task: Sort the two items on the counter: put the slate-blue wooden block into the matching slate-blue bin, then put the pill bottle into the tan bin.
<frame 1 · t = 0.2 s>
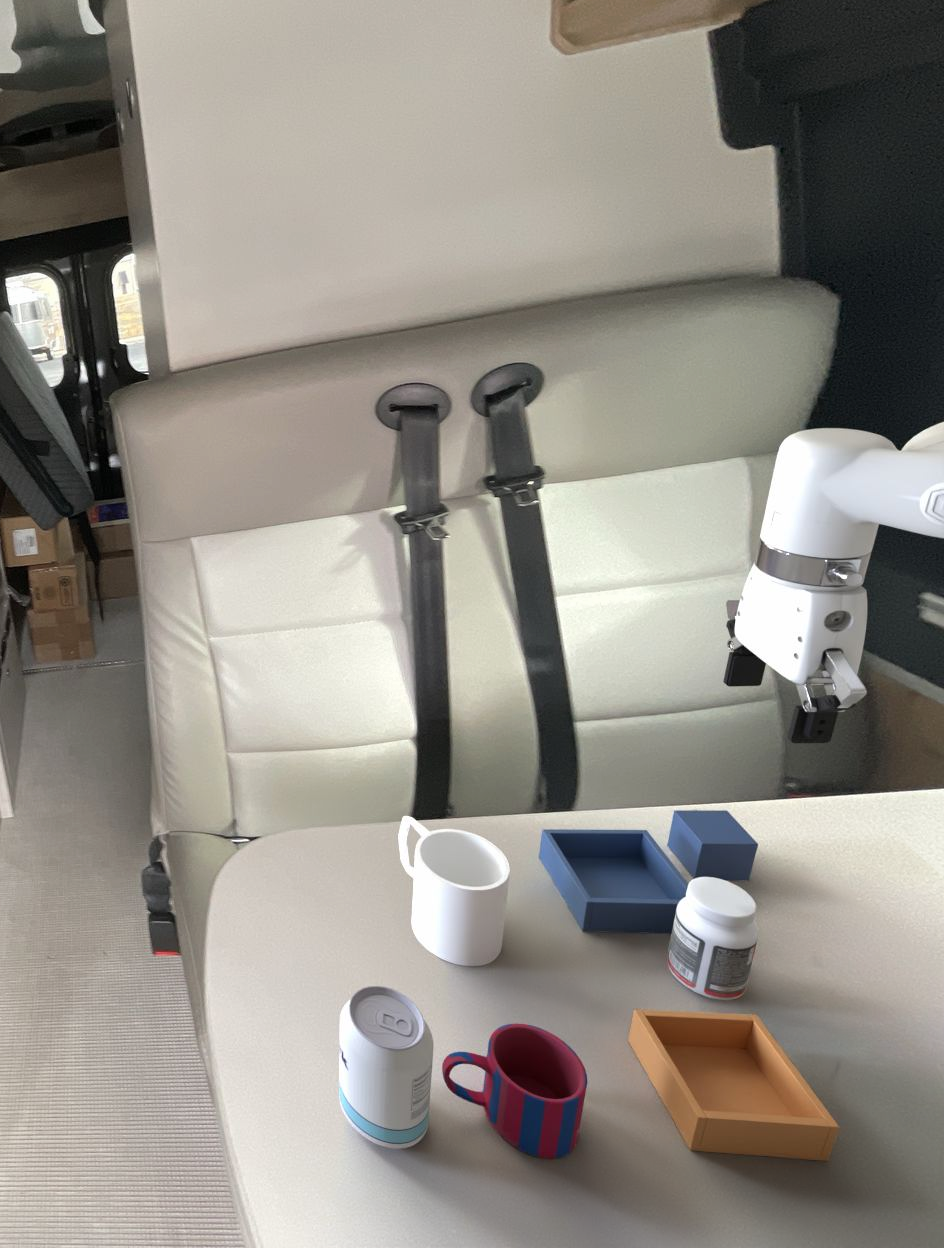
hand: (773, 711, 84), 18 cm above the table, tool pointing down, fingers open, 9 cm apart
pill bottle: (704, 977, 78), on the table
cup: (505, 1112, 70), on the table
cup 2: (440, 920, 88), on the table
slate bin: (613, 893, 88), on the table
block: (706, 862, 89), on the table
tan bin: (720, 1096, 68), on the table
beverage can: (382, 1115, 71), on the table
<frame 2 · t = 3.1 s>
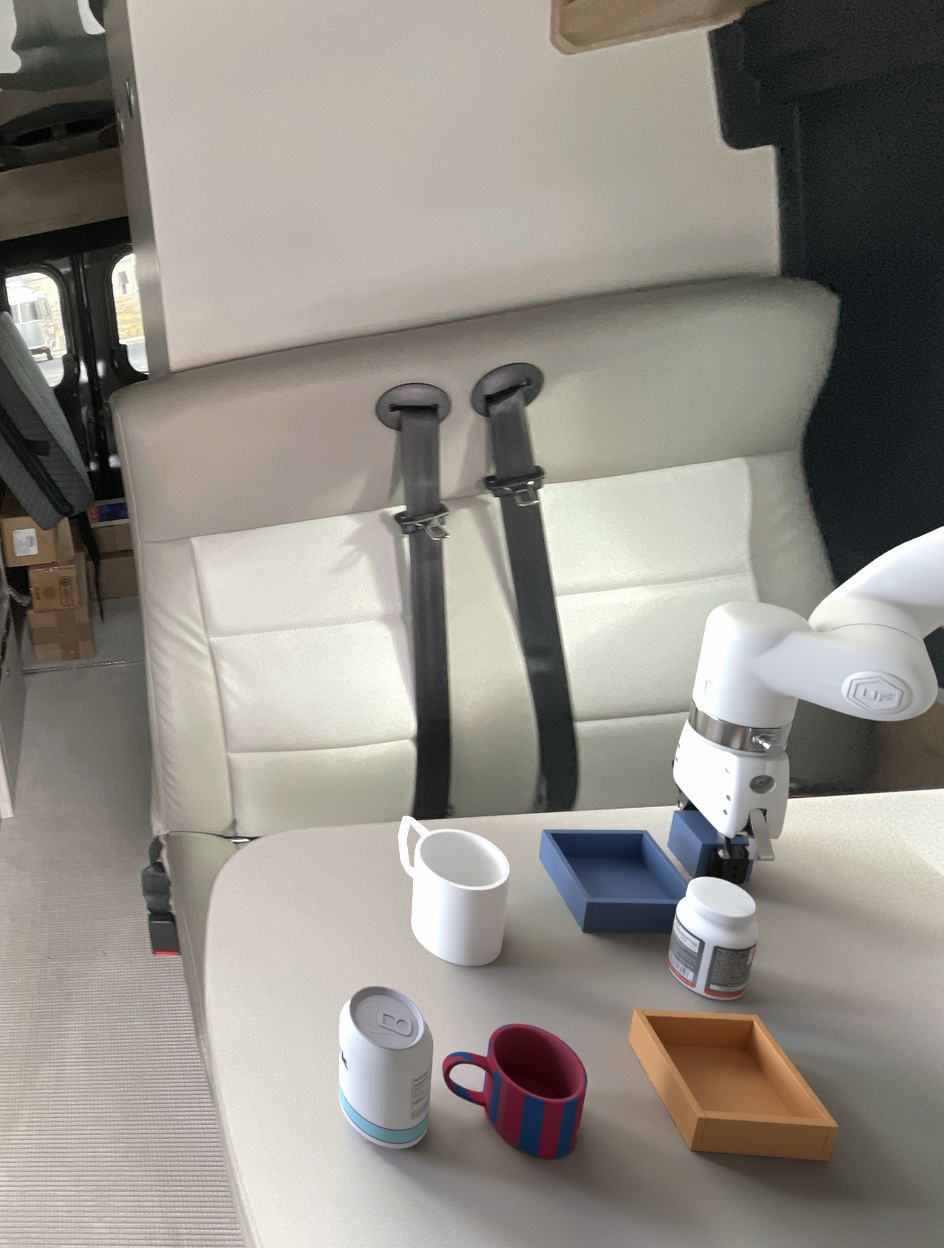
hand: (707, 859, 89), 0 cm above the table, tool pointing down, fingers closed on block, 5 cm apart
block: (706, 862, 89), on the table, touching gripper
everything else where it was.
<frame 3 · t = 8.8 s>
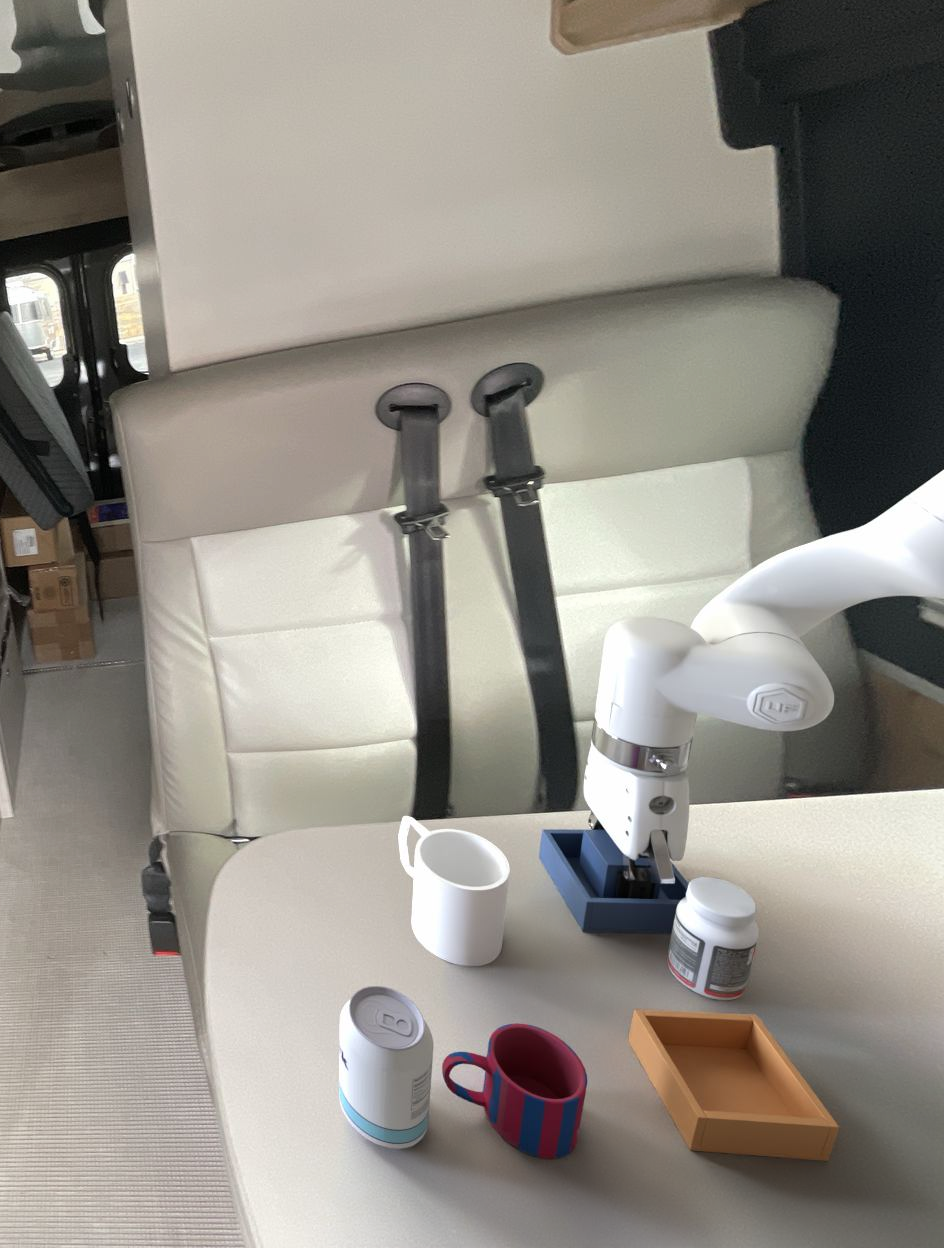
hand: (617, 880, 87), 2 cm above the table, tool pointing down, fingers closed on block, 5 cm apart
block: (616, 883, 87), point 1 cm above the table, touching gripper
everything else where it was.
when the fingers open (3 cm above the table, at t = 14.8 s): block stays where it is, resting on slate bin.
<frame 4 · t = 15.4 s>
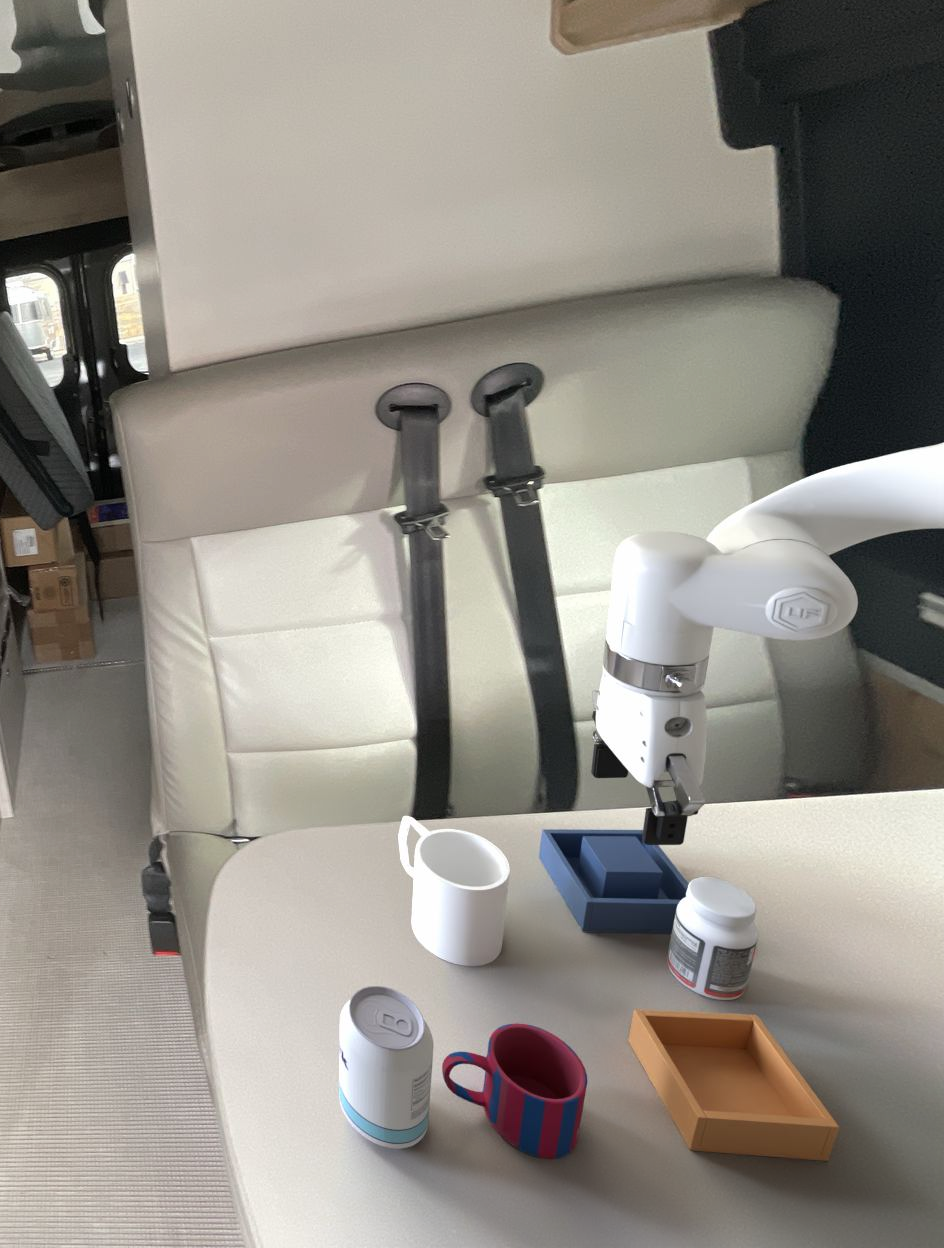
hand: (634, 807, 83), 12 cm above the table, tool pointing down, fingers open, 9 cm apart
block: (615, 890, 87), resting on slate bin
everything else where it was.
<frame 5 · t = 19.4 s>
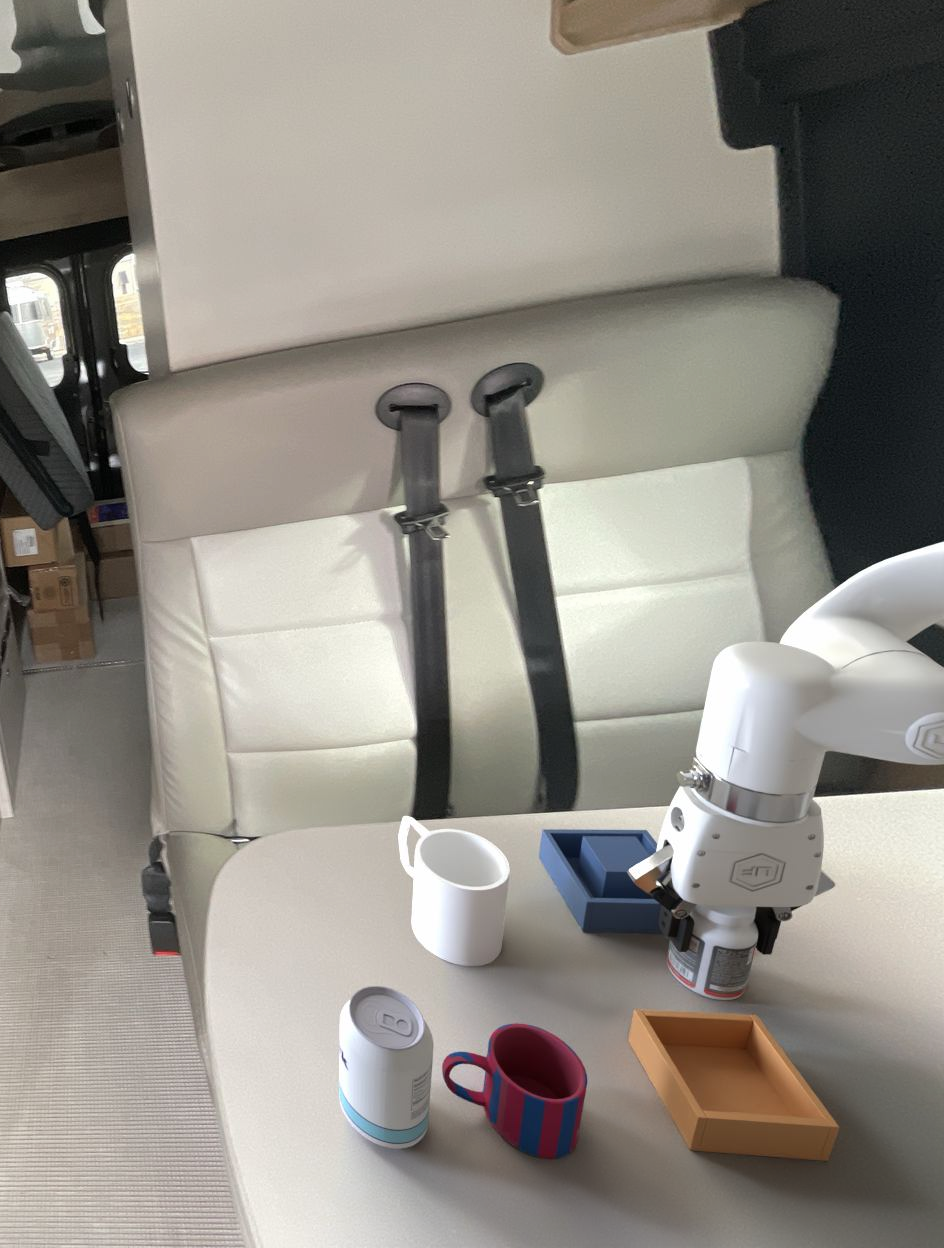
hand: (714, 938, 76), 5 cm above the table, tool pointing down, fingers closed on pill bottle, 5 cm apart
pill bottle: (703, 977, 78), on the table, touching gripper
everything else where it was.
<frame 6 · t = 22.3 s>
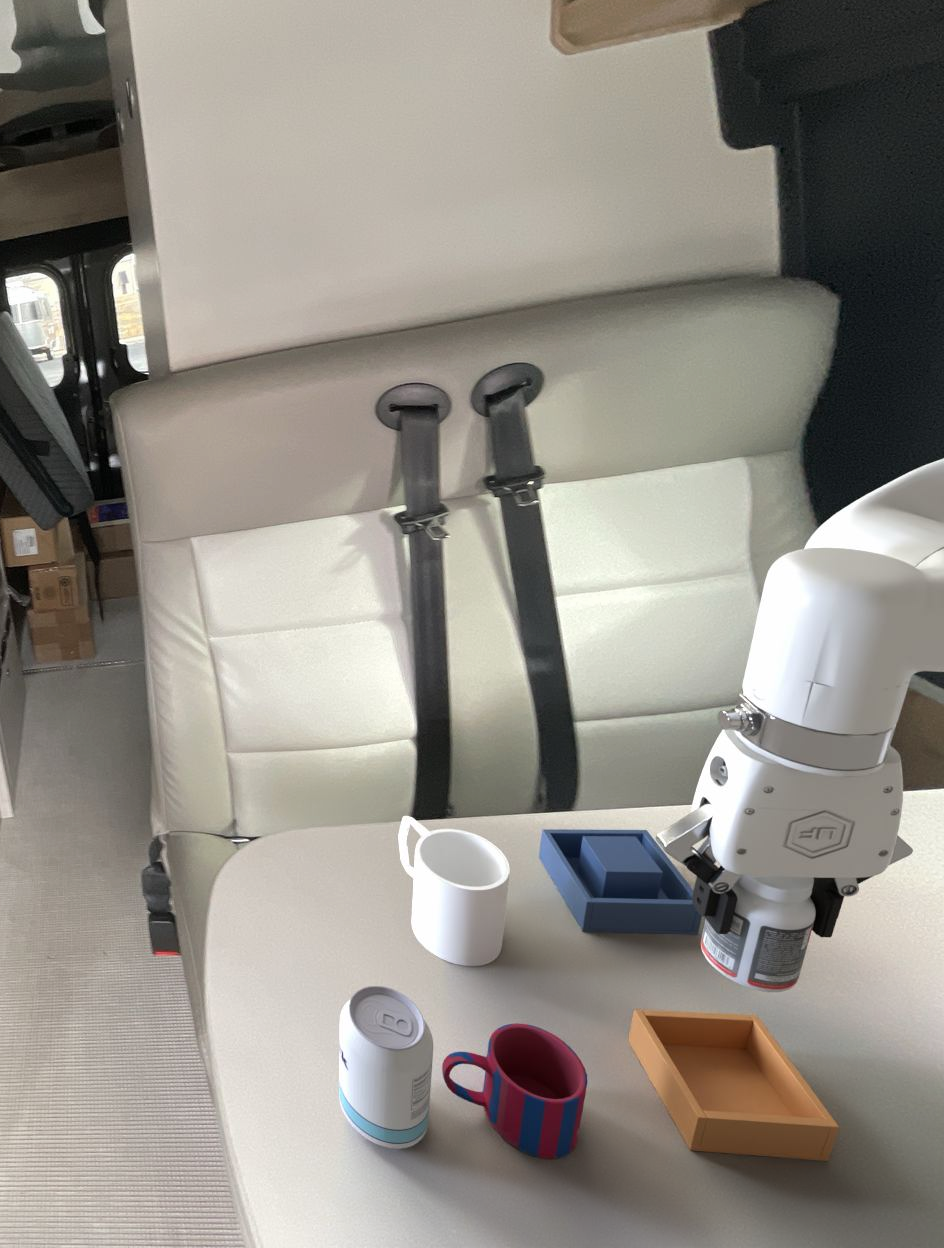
hand: (760, 918, 63), 18 cm above the table, tool pointing down, fingers closed on pill bottle, 5 cm apart
pill bottle: (746, 965, 65), point 13 cm above the table, touching gripper
everything else where it was.
when the fingers open (5 cm above the table, at t = 25.7 s): pill bottle stays where it is, resting on tan bin.
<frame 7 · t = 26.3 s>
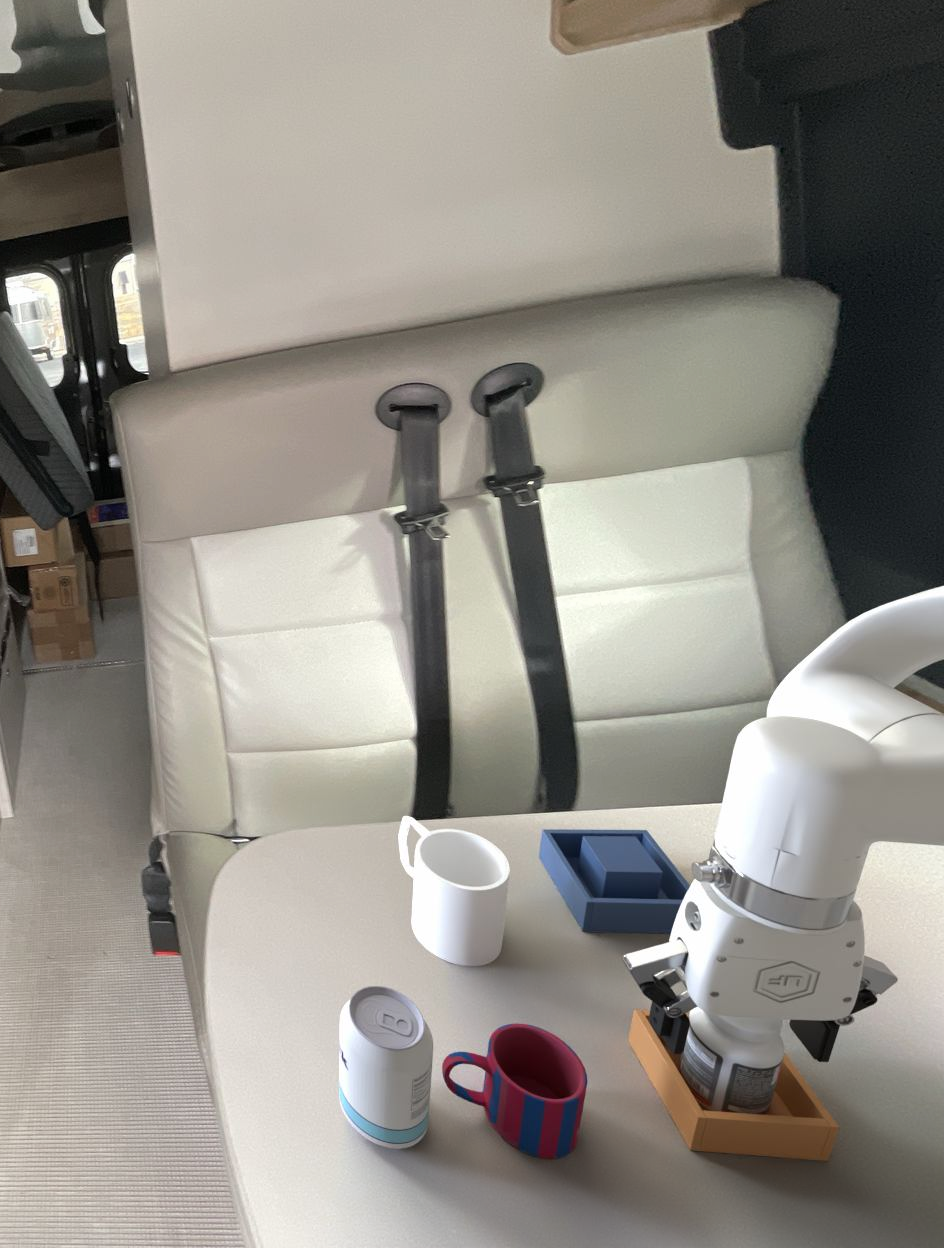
hand: (735, 1040, 66), 7 cm above the table, tool pointing down, fingers open, 9 cm apart
pill bottle: (720, 1091, 69), resting on tan bin
everything else where it was.
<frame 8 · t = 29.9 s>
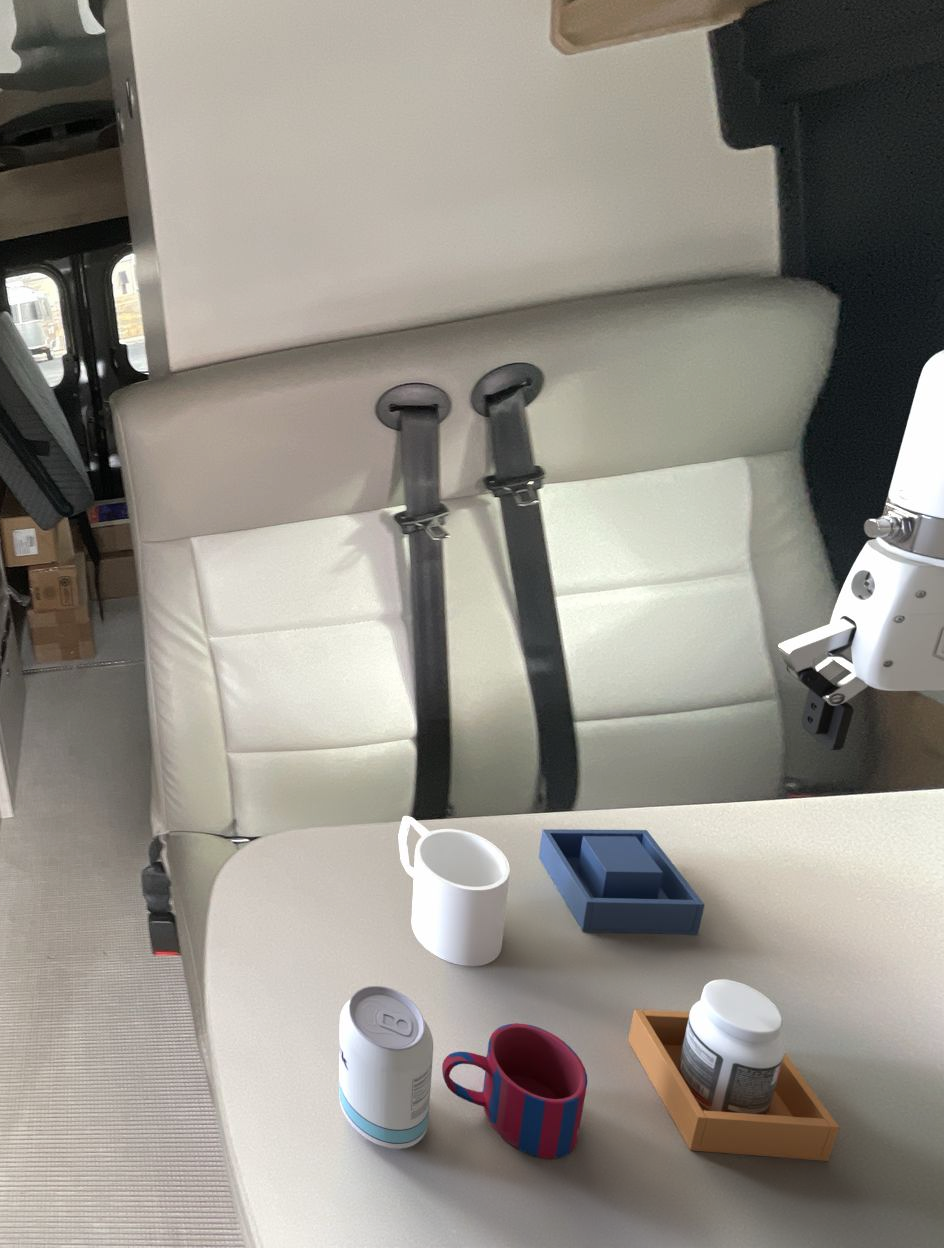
hand: (897, 738, 62), 30 cm above the table, tool pointing down, fingers open, 9 cm apart
nothing on the table moved.
at the end: block 0.1 cm off-centre in the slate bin, point 0.5 cm above the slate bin's base; pill bottle 0.2 cm off-centre in the tan bin, point 0.3 cm above the tan bin's base; pill bottle tilted 0° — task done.
